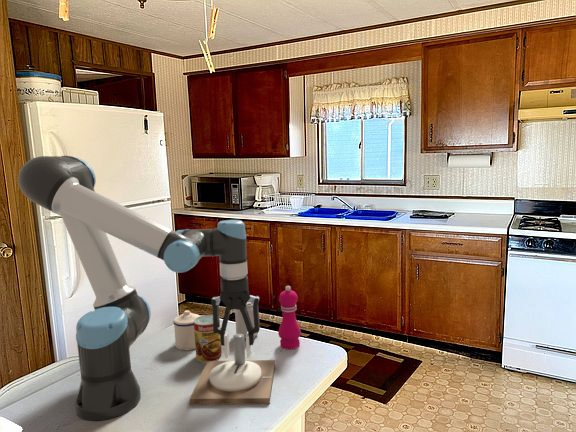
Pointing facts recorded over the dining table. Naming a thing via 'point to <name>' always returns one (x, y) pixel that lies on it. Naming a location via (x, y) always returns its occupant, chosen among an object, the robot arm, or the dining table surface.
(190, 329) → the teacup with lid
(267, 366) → the dial board
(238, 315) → the can
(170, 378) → the dining table surface
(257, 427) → the dining table surface
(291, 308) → the pepper mill
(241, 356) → the dial
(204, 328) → the canned food
